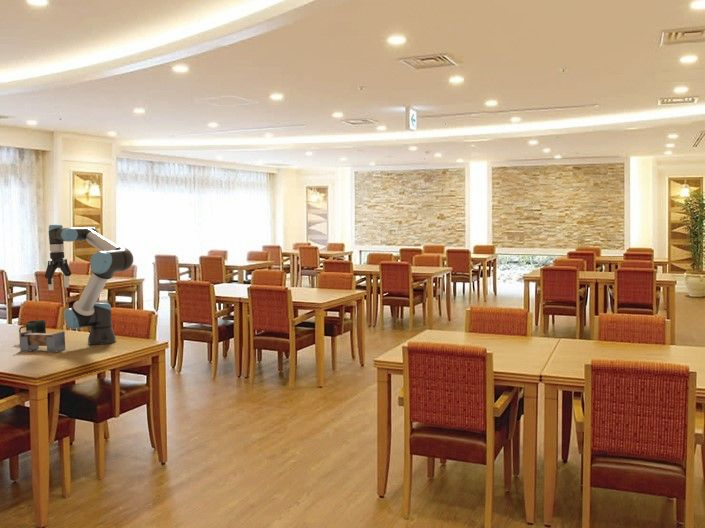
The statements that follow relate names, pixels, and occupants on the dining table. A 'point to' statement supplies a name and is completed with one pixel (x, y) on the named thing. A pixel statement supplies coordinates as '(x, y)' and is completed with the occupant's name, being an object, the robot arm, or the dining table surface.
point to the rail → (38, 338)
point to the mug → (35, 326)
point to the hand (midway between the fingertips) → (59, 288)
